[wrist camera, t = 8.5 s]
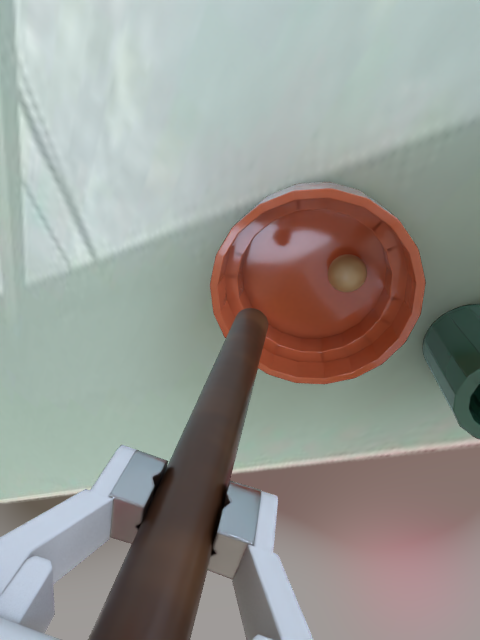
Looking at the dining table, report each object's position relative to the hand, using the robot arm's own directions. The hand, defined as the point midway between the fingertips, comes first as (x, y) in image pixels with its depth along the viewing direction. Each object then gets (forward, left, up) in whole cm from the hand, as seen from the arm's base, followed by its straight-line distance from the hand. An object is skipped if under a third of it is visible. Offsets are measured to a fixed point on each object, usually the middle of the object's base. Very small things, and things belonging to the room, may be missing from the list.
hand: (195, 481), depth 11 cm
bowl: (-4, 0, -23) cm, 23 cm away
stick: (0, 0, -11) cm, 11 cm away
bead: (-6, -2, -21) cm, 21 cm away
